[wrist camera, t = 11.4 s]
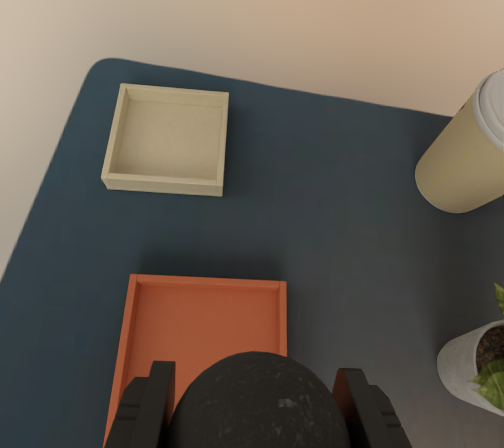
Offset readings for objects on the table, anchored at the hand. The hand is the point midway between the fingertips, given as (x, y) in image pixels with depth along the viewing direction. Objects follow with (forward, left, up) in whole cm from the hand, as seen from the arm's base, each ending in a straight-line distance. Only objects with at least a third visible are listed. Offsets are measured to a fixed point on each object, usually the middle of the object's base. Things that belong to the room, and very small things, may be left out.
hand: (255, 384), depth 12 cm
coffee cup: (+23, +20, -19) cm, 36 cm away
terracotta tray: (-2, +1, -19) cm, 19 cm away
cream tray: (-7, +22, -19) cm, 30 cm away
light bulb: (0, -2, -6) cm, 7 cm away
